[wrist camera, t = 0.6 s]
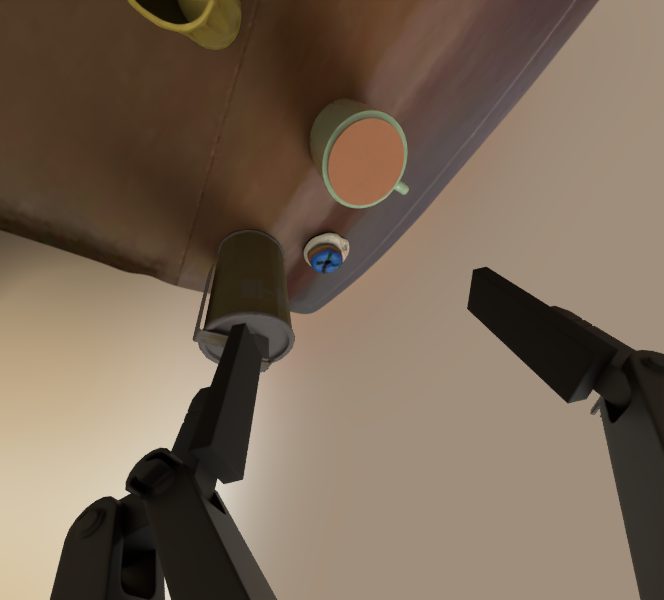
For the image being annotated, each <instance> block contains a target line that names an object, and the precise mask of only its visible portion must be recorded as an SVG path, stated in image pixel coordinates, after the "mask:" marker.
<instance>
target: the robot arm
mask: <svg viewBox="0 0 664 600" xmlns="http://www.w3.org/2000/svg"><path fill="white" fill-rule="evenodd" d="M467 309H468V310H469V311H470V312H471V313H472V314H473V315H474V316H475V317H476V318H478V319H479V320H480V321H481V322H482V323H483V324H484V325H485V326H486V327H487V328H488V329H489V330H490V331H491V332H492V333H494V334H495V335H496V336H497V337H498V338H499V339H500V340H501V341H502V342H503V343H504V344H505V345H506V346H507V347H508V348H509V349H511V350H512V351H513V352H514V353H515V354H516V355H517V356H518V357H519V358H520V359H521V360H522V361H523V362H524V363H525V364H526V365H527V366H529V367H530V368H531V369H532V370H533V371H534V372H535V373H536V374H537V375H538V376H539V377H540V378H541V379H542V380H544V382H545V383H547V384H548V385H549V386H550V387H551V388H552V389H553V390H554V391H555V392H556V393H557V394H558V395H559V396H560V397H562V399H564V400H565V401H566V402H567V403H572V402H575V401H580V400H584V399H587V397H588V396H589V394H590V393H591V391H592V390H593V389H594V390H595V391H596V392H597V393H599V394H600V395H601V396H600V398H599V399H598V400H597V402H596V403H595V405H594V406H593V407H592V409H591V414H592V415H595V414H596V412H597V411H598V410H599V409H600V412H601V416H600V417H602V421H603V426H604V431H605V435H606V440H607V445H608V449H609V454H610V459H611V464H612V468H613V473H614V478H615V482H616V487H617V492H618V496H619V501H620V506H621V510H622V515H623V520H624V525H625V529H626V534H627V538H628V543H629V548H630V552H631V557H632V562H633V567H634V571H635V576H636V580H637V585H638V590H639V595H640V599H641V600H664V354H662V353H658V352H654V351H647V350H639V351H636V350H634V349H632V348H630V347H629V346H627V345H625V344H624V343H622V342H620V341H619V340H617V339H615V338H614V337H612V336H610V335H609V334H607V333H605V332H604V331H602V330H600V329H599V328H597V327H595V326H592V324H590V323H589V322H587V321H585V320H582V318H580V317H579V316H577V315H575V314H574V313H572V312H570V311H568V310H565V309H562V308H560V307H557V306H551V307H550V306H548V305H547V304H545V303H543V302H542V301H540V300H539V299H537V298H535V297H534V296H532V295H531V294H529V293H527V292H526V291H524V290H523V289H521V288H519V287H518V286H516V285H514V284H513V283H512V282H510V281H508V280H507V279H505V278H503V277H502V276H500V275H499V274H497V273H496V272H494V271H492V270H491V269H489V268H488V267H483V268H479V269H475V270H473V274H472V281H471V288H470V294H469V301H468V307H467ZM261 362H262V355H261V353H260V351H259V349H258V347H257V345H256V343H255V341H254V339H253V337H252V335H251V333H250V331H249V329H248V327H247V325H246V323H241V324H237V325H233V326H232V327H231V330H230V333H229V336H228V339H227V341H226V344H225V347H224V350H223V353H222V355H221V358H220V361H219V364H218V367H217V370H216V373H215V375H214V378H213V381H212V384H211V386H210V387H206V388H202V389H200V390H199V392H198V393H197V394H196V396H195V397H194V398H193V399H192V402H191V404H190V407H189V409H188V413H187V414H186V416H185V419H184V423H183V424H182V426H181V429H180V431H179V434H178V436H177V438H176V441H175V443H174V446H173V448H172V451H169V450H168V449H167V448H159V449H156V450H153V451H151V452H150V453H148V454H147V455H145V456H144V457H143V458H142V459H141V460H140V461H139V462H138V463H137V464H136V465H135V466H134V468H133V469H132V471H131V472H130V474H129V476H128V478H127V481H126V491H128V492H130V493H131V494H129V495H127V496H125V497H124V498H122V499H120V500H117V499H115V498H113V497H111V496H109V497H103V498H101V499H99V500H97V501H95V502H94V503H92V504H91V505H90V506H89V507H87V508H86V509H85V510H84V511H83V512H82V513H81V514H80V515H79V516H78V518H77V519H76V520H75V522H74V523H73V525H72V526H71V527H70V529H69V531H68V534H67V536H66V539H65V542H64V545H63V549H62V554H61V557H60V561H59V565H58V569H57V573H56V577H55V582H54V585H53V589H52V593H51V597H50V600H165V590H164V589H165V588H164V577H165V580H166V583H167V587H168V590H169V594H170V597H171V600H277V598H276V597H275V595H274V593H273V591H272V590H271V588H270V586H269V584H268V582H267V580H266V579H265V577H264V575H263V573H262V572H261V570H260V568H259V566H258V564H257V562H256V561H255V559H254V557H253V555H252V553H251V551H250V550H249V548H248V546H247V544H246V543H245V541H244V539H243V537H242V535H241V533H240V532H239V530H238V528H237V526H236V524H235V523H234V521H233V519H232V517H231V515H230V514H229V512H228V510H227V508H226V507H225V505H224V503H223V501H222V499H221V498H220V496H219V494H218V492H217V491H216V490H215V486H216V482H217V478H218V479H219V480H220V481H221V482H222V483H223V484H226V483H231V482H235V481H239V480H243V476H244V469H245V463H246V456H247V450H248V444H249V438H250V432H251V425H252V419H253V413H254V406H255V400H256V393H257V387H258V381H259V375H260V368H261Z"/></svg>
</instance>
